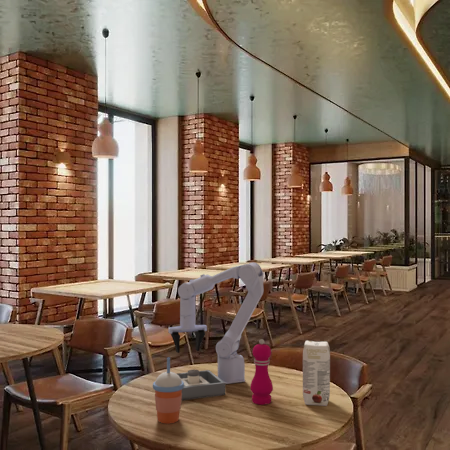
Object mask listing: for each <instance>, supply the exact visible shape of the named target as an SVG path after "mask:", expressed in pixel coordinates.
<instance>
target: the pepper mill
mask: <svg viewBox="0 0 450 450" xmlns="http://www.w3.org/2000/svg"><path fill="white" fill-rule="evenodd" d="M265 342H266V341H265V340H264V339H263V338H261V339H259V341H258V344H256V345H254V347H252V351H251V352H252V356H253V364H254V365H255V367H254V368H255V371H254V375H253V377H252V379H251V382H250V392H251V393H252V394H251V402H252V403H253V404H256V405H260V406H261V405H262V406H263V405H269V404H270V403H272V395H271V393H273V391H274V385H273V382H272V379H271V377H270V375H269V374H270V373H269V365H270V357H271V355H272V350H271V347H270V346H269V345H268V344H265Z"/></svg>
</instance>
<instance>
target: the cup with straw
mask: <svg viewBox="0 0 450 450" xmlns="http://www.w3.org/2000/svg"><path fill="white" fill-rule="evenodd" d="M183 388H184V382H183V381H182V380H181V378H180V377H179V376H178V375H177V373H176V372H173V371H171V357H170V356H169V357H166V371H164V372H162V373H160V374H159V375H158V376H157V377H156V379H155V381H153V383H152V389H153V390H154V401H155V402H154V403H155V410H156V416H157V417H156V418H157V421H158V422H159V423H160V422H161V424H166V425H167V424H168V425H169V424H174V423H176V422H178V421H179V420H180V413H181V408H182V401H181V399H182V393H181V392H182V389H183Z"/></svg>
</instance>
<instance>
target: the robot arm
mask: <svg viewBox="0 0 450 450" xmlns="http://www.w3.org/2000/svg"><path fill="white" fill-rule="evenodd" d="M232 278H233V279H236V280H239V279H240V281H241V282H243V284H244V285H245V288H246V290H247V294H246V295H245V298H244V300H243V302H242V304H241V305H240V308H239V309H238V311H237V313H236V315H235V317H234V319H232V323H231V324H230V327H229V328H228V330H227V331H226V332H225V334H224V335H223V337H222V338H221V339H220V340H219V341H218V342H217V343H216V345H215V352H216V354H217V377H219V378H220V379H221V380H222V381H224V382H225V385H228V384H236V383H237V384H238V383H245V382H246V380H245V376H246V375H245V373H246V371H245V369H246V368H245V367H246V365H245V359H244V357H243V355H241V354H238V352H237V350H238V349H239V347H240V340H241V338H242V334H243V332H244V330H245V328H246V326H247V325H248V323H249V321H250V320H251V317H252V315H253V313H254V312H255V309H256V308H257V305H258V303H259V302H260V300H261V298H262V296H263V295H264V291H265V290H264V271H263V269H262V267H261V265H260V264H258V263H257V262H254V261H252V262H249V263H245V264H241V265H237V266H236V265H235V266H233V267H230V268H228V269H226V270H223V271H221V272H219V273H216V274H214V275H209V274H205V273H203V274H201V275H200V276H199V277H198V278H194V279H193V278H192V279H190V280H189V282H183V283H182V284H181V285H179V286H178V288H177V293H178V296H179V298H180V302H179V304H180V305H179V306H180V307H179V318H180V319H179V325H177V326H171V327H169V326H168V328H167V329H168V334H170V336H171V338H172V340H173V343H174V347H175V351H176V353H177V354H179V353H181V349H180V347H181V346H180V344H181V343H180V342H181V334H180V333H189V332H190V333H191V332H192V333H193V332H194V335H195V351H197V352H200V348H201V344H202V342H203V339H204V337H205V336H206V332H207V331H208V326H207V325H206V324H196V314H197V313H196V296H197V295H201V294H204V293H206V292H208V291H211V290H213V289H214V287H215V285H216V284H219V283H222V282H225V281H227V280H230V279H232Z"/></svg>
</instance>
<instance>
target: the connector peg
mask: <svg viewBox="0 0 450 450" xmlns="http://www.w3.org/2000/svg"><path fill="white" fill-rule="evenodd" d="M199 371H200V370H199V369H189V370H187V372H188V384H195V383H199Z"/></svg>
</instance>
